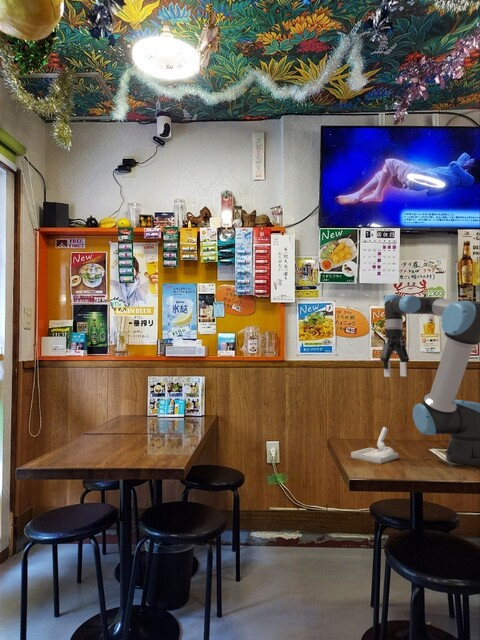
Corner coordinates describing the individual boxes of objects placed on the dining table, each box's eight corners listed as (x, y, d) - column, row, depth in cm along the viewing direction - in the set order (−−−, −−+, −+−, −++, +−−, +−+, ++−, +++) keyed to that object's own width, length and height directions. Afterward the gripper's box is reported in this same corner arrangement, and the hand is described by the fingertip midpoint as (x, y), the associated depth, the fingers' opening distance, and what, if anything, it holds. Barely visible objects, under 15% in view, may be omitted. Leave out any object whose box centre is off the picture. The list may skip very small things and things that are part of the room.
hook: (404, 435, 171) (389, 430, 170) (394, 464, 171) (378, 459, 170) (394, 430, 179) (380, 424, 177) (384, 457, 178) (369, 452, 177)
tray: (398, 458, 174) (398, 453, 174) (380, 463, 166) (380, 458, 166) (369, 452, 184) (369, 447, 184) (351, 457, 175) (351, 452, 175)
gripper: (400, 331, 210) (402, 376, 207) (371, 328, 194) (372, 376, 191) (415, 330, 204) (417, 376, 202) (386, 326, 188) (388, 377, 186)
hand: (395, 376), depth 197 cm, fingers open, 13 cm apart
